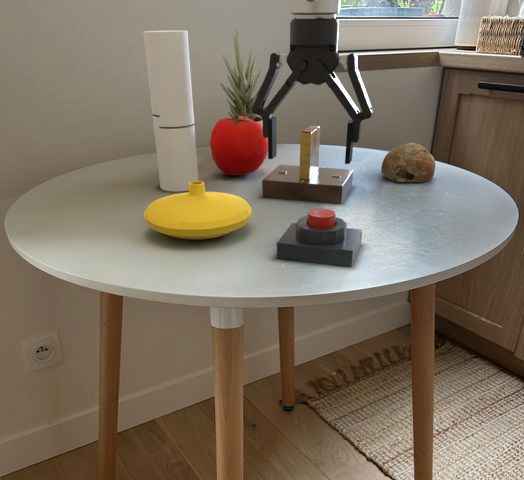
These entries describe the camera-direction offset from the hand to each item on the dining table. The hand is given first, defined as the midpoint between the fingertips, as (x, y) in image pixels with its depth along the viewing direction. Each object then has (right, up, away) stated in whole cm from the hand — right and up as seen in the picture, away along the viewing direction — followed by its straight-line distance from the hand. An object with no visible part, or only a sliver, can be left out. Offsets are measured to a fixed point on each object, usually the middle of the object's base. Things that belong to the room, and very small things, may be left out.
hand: (309, 159), depth 95 cm
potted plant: (-13, +11, +29) cm, 33 cm away
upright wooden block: (0, -2, +1) cm, 2 cm away
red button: (0, -17, -23) cm, 28 cm away
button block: (0, -20, -21) cm, 29 cm away
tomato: (-13, +2, +14) cm, 19 cm away
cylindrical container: (-24, -3, +7) cm, 25 cm away
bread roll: (+20, 0, +11) cm, 23 cm away
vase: (-18, -16, -13) cm, 27 cm away
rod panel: (0, -5, +3) cm, 6 cm away
